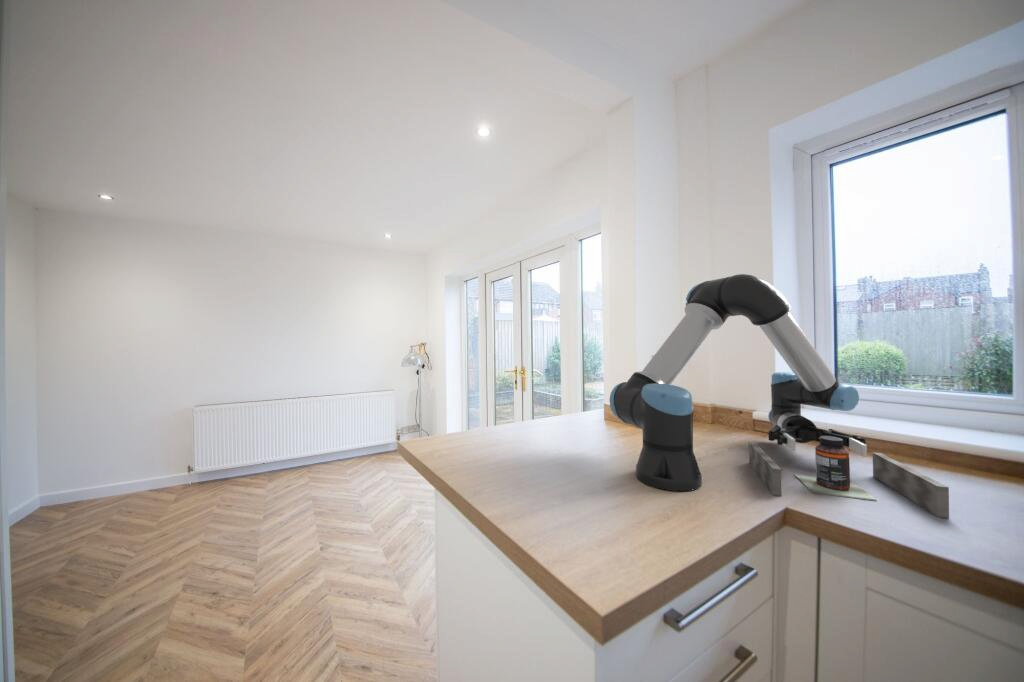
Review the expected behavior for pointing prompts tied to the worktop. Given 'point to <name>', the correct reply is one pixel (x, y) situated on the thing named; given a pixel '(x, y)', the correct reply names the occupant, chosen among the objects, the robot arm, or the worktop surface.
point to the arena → (884, 469)
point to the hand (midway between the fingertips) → (828, 447)
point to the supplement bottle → (832, 463)
